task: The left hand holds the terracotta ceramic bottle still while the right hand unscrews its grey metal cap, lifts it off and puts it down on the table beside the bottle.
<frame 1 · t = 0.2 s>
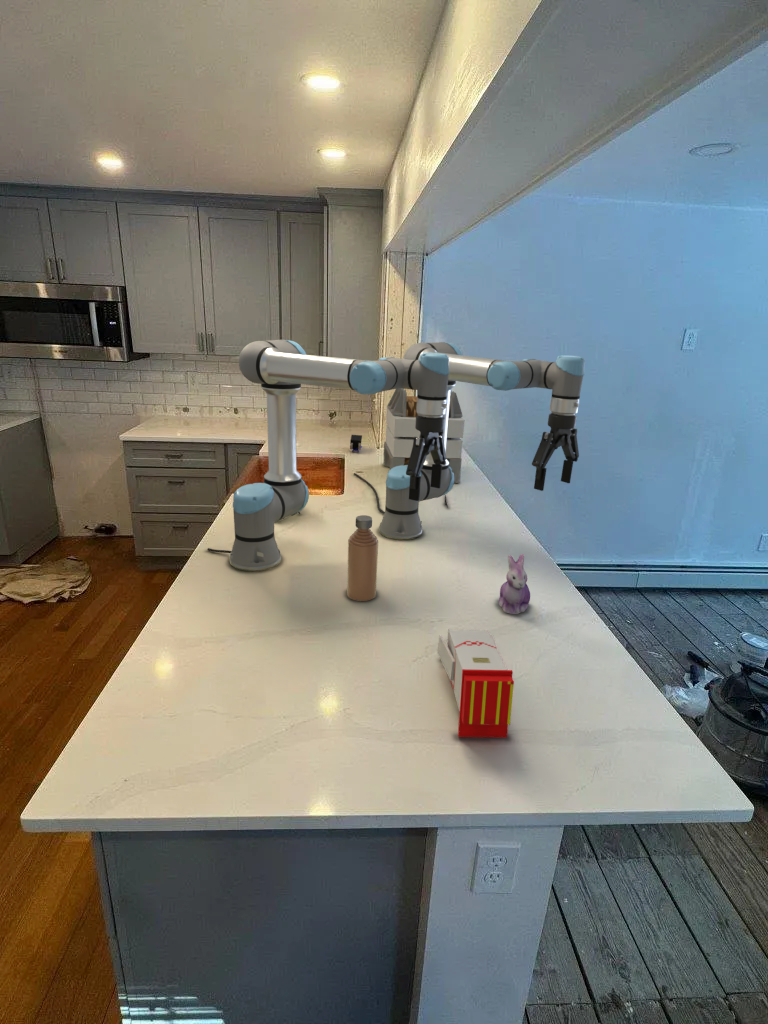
left hand: (425, 493, 154), 28 cm above the counter, tool pointing down, fingers open, 13 cm apart
right hand: (552, 485, 166), 28 cm above the counter, tool pointing down, fingers open, 13 cm apart
fossil: (290, 513, 214), on the counter
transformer: (419, 473, 275), on the counter
figurine: (513, 607, 154), on the counter
cap: (363, 519, 149), point 22 cm above the counter, screwed on, not yet turned
feather: (445, 498, 240), on the counter
bottle: (361, 593, 157), on the counter
figurine character: (355, 450, 313), on the counter
toy: (469, 691, 119), on the counter
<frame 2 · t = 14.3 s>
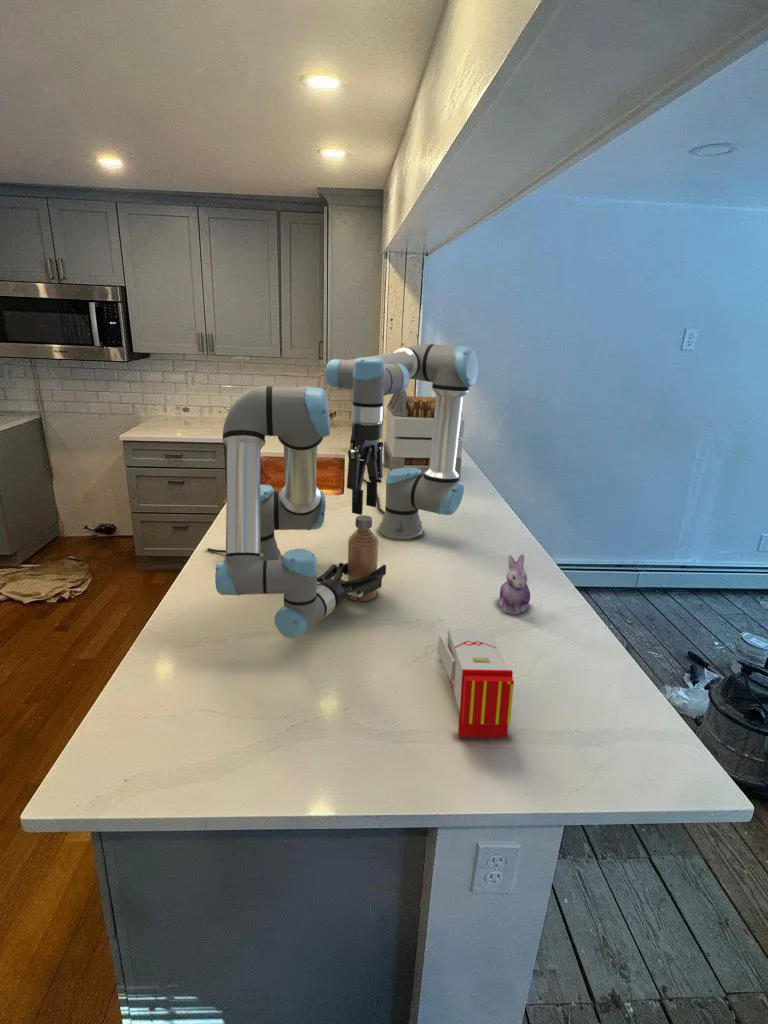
left hand: (371, 565, 159), 7 cm above the counter, tool horizontal, fingers closed on bottle, 8 cm apart
right hand: (364, 509, 149), 25 cm above the counter, tool pointing down, fingers open, 6 cm apart
bottle: (361, 593, 157), on the counter, touching left hand
everything else where it was.
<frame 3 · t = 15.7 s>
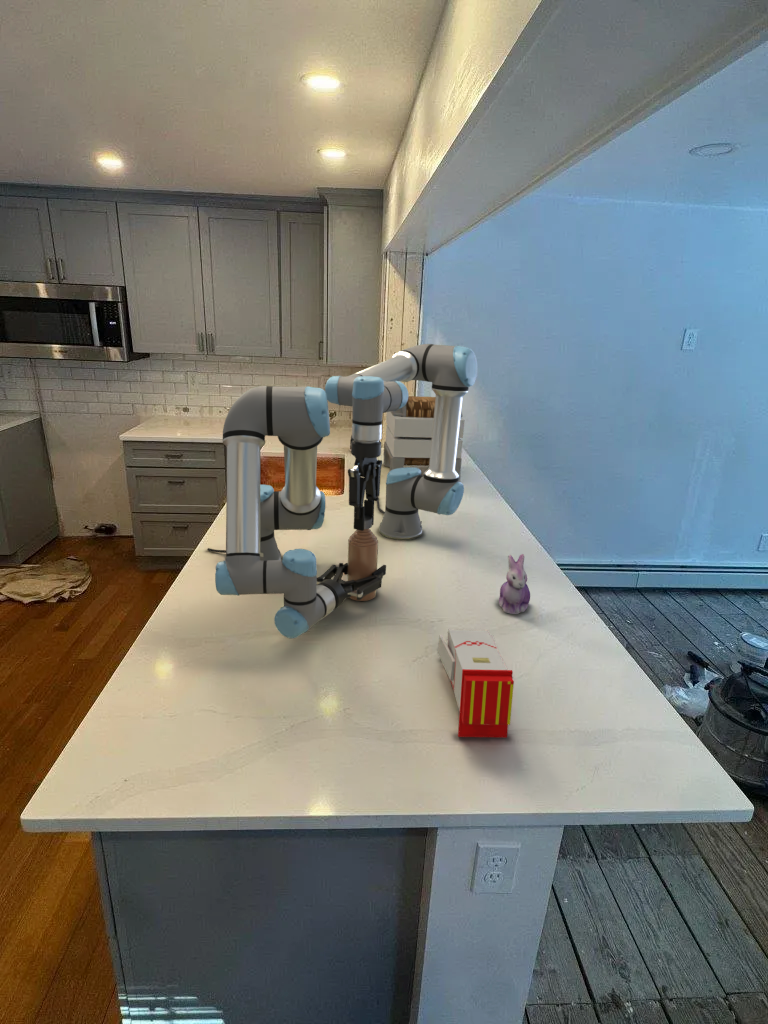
left hand: (371, 565, 159), 7 cm above the counter, tool horizontal, fingers closed on bottle, 8 cm apart
right hand: (363, 526, 150), 20 cm above the counter, tool pointing down, fingers closed on cap, 4 cm apart
cap: (363, 519, 149), point 22 cm above the counter, screwed on, not yet turned, touching right hand
bottle: (361, 593, 157), on the counter, touching left hand
everything else where it was.
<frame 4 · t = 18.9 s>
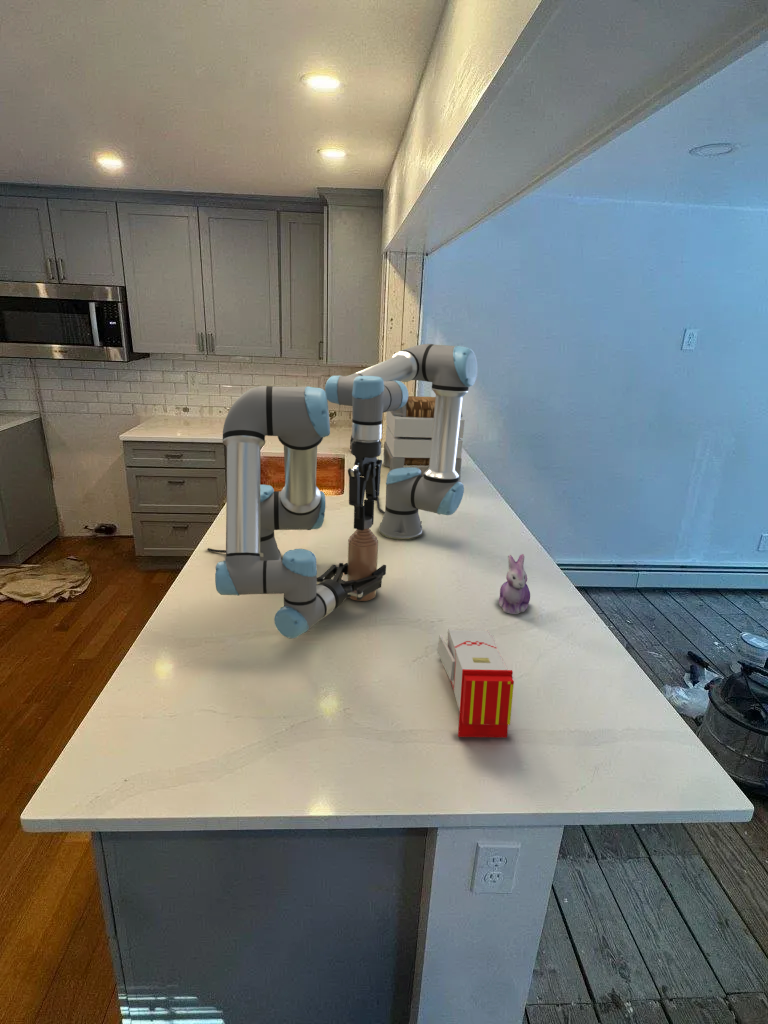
left hand: (371, 565, 159), 7 cm above the counter, tool horizontal, fingers closed on bottle, 8 cm apart
right hand: (363, 526, 150), 20 cm above the counter, tool pointing down, fingers closed on cap, 4 cm apart
cap: (363, 518, 149), point 22 cm above the counter, turned 109° so far, risen 0.1 cm, still on its thread, touching right hand
bottle: (361, 593, 157), on the counter, touching left hand
everything else where it was.
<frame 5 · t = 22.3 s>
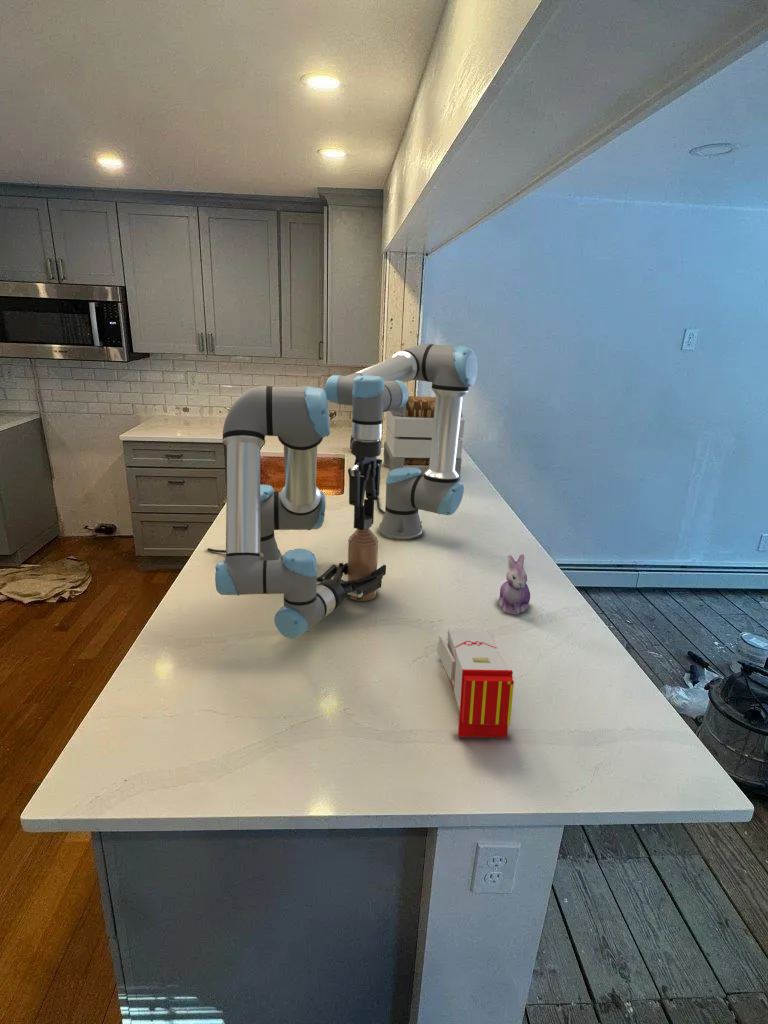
left hand: (371, 565, 159), 7 cm above the counter, tool horizontal, fingers closed on bottle, 8 cm apart
right hand: (363, 525, 150), 20 cm above the counter, tool pointing down, fingers closed on cap, 4 cm apart
cap: (363, 518, 149), point 22 cm above the counter, turned 218° so far, risen 0.2 cm, still on its thread, touching right hand
bottle: (361, 593, 157), on the counter, touching left hand
everything else where it was.
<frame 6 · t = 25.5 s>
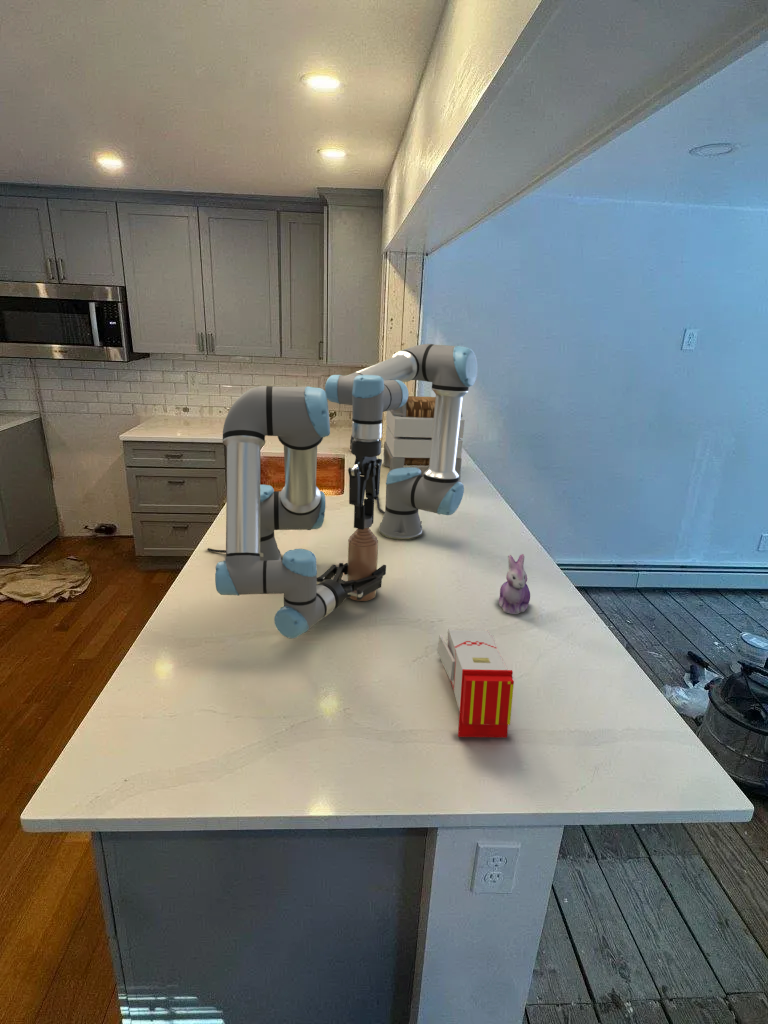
left hand: (371, 565, 159), 7 cm above the counter, tool horizontal, fingers closed on bottle, 8 cm apart
right hand: (363, 525, 150), 20 cm above the counter, tool pointing down, fingers closed on cap, 4 cm apart
cap: (363, 518, 149), point 22 cm above the counter, turned 327° so far, risen 0.3 cm, still on its thread, touching right hand
bottle: (361, 593, 157), on the counter, touching left hand
everything else where it was.
when the right hand's fingers open (1 cm above the counter, at t = 33.3 s): cap stays where it is, point 2 cm above the counter.
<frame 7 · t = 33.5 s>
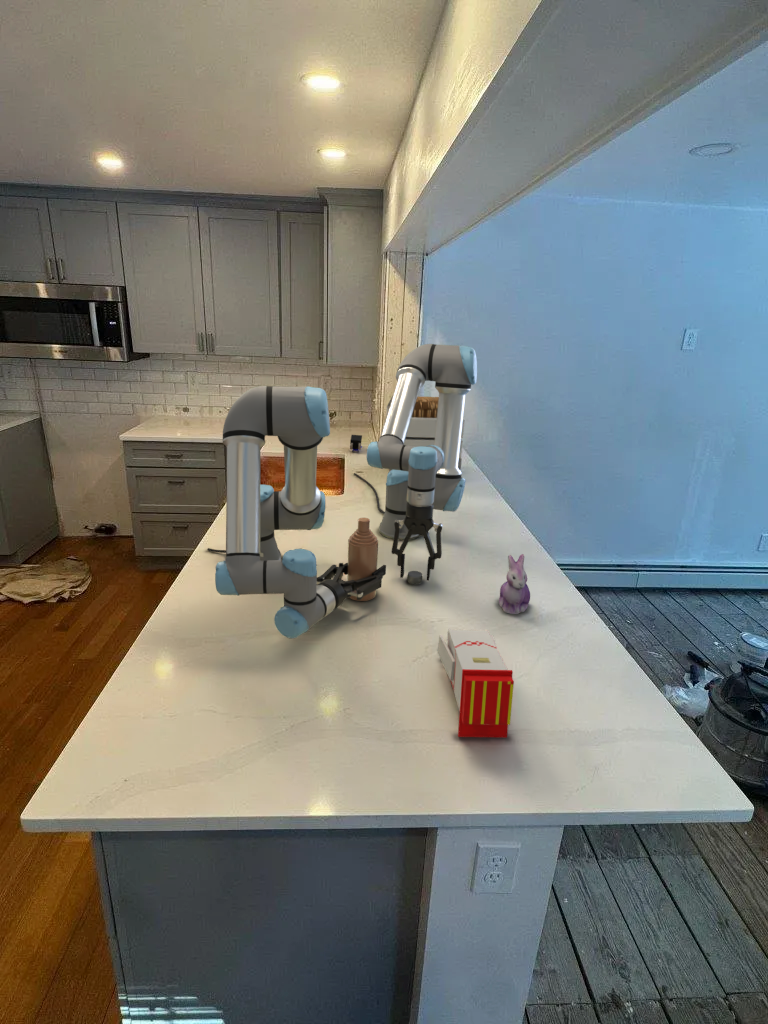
left hand: (371, 565, 159), 7 cm above the counter, tool horizontal, fingers closed on bottle, 8 cm apart
right hand: (414, 577, 165), 1 cm above the counter, tool pointing down, fingers open, 7 cm apart
cap: (415, 574, 165), point 2 cm above the counter, off its thread
bottle: (361, 594, 157), on the counter, touching left hand
everything else where it was.
when the left hand's fingers open (7 cm above the counter, at t = 34.6 s): bottle stays where it is, on the counter.
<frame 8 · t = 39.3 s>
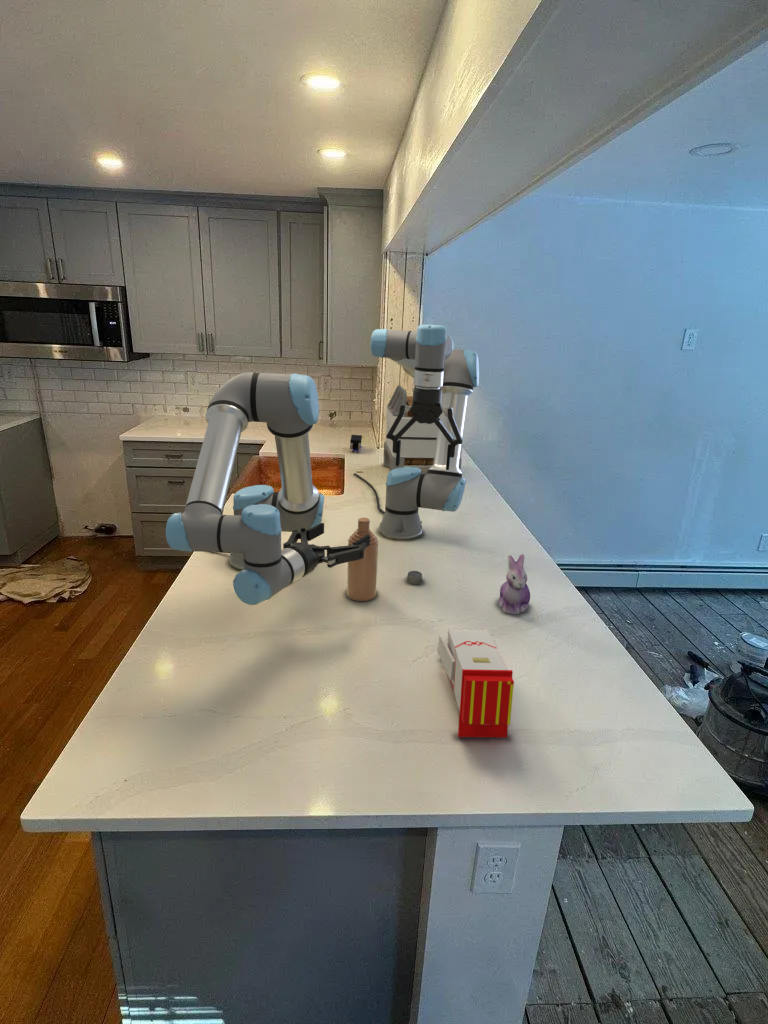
left hand: (345, 533, 142), 21 cm above the counter, tool horizontal, fingers open, 13 cm apart
right hand: (422, 466, 154), 35 cm above the counter, tool pointing down, fingers open, 13 cm apart
bottle: (361, 594, 157), on the counter
everything else where it was.
at the end: cap came off its thread; cap point 2.0 cm above the counter; the left hand is holding nothing; the right hand is holding nothing; bottle tilted 0°; bottle moved 0.0 cm from its start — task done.
